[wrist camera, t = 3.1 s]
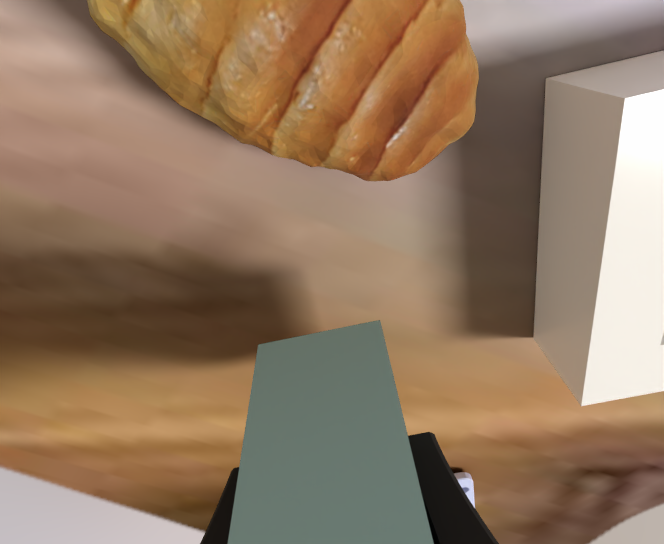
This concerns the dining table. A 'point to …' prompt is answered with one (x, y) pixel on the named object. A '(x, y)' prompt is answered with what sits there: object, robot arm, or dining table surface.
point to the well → (603, 230)
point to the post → (327, 446)
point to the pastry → (312, 74)
